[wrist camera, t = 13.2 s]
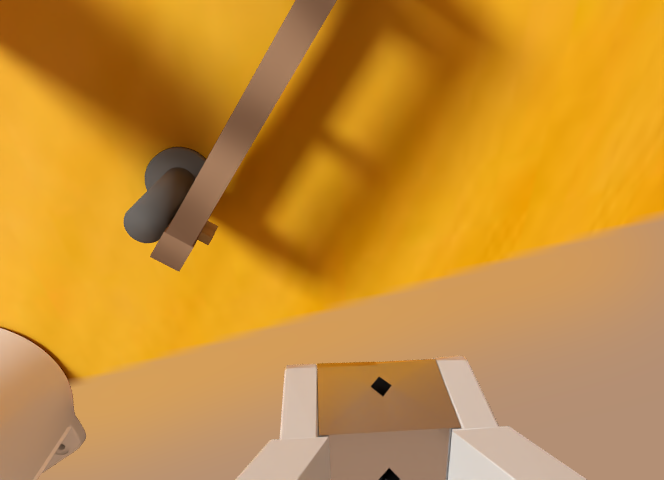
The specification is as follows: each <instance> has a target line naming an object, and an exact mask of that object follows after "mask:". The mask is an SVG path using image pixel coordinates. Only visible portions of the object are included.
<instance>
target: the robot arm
mask: <svg viewBox="0 0 664 480" xmlns="http://www.w3.org/2000/svg"><path fill="white" fill-rule="evenodd" d="M280 430H281V431H280V439H277V440H270V441H269V442H268V443H267V444H266V445H265V446H264V448H263V449H262V450H261V451H260V452H259V453H258V454H257V455H256V457H255V458H254V459H253V460H252V461H251V462H250V463H249V464H248V466H247V467H246V468H245V469H244V470H243V471H242V472H241V474H240V475H239V476H238V477H237V478H236V479H235V480H587V479H585V478H584V477H582V476H581V475H579V474H578V473H576V472H575V471H574V470H572V469H571V468H569V467H568V466H566V465H565V464H563V463H562V462H560V461H559V460H557V459H556V458H555V457H553V456H551V455H550V454H549V453H547V452H546V451H544V450H543V449H541V448H540V447H539V446H537V445H536V444H534V443H533V442H531V441H530V440H528V439H527V438H525V437H524V436H522V435H521V434H520V433H518V432H517V431H515V430H514V429H512V428H511V427H509V426H504V427H499V425H498V423H497V421H496V418H495V416H494V414H493V412H492V410H491V408H490V406H489V404H488V402H487V400H486V398H485V396H484V394H483V392H482V390H481V387H480V385H479V383H478V381H477V379H476V377H475V375H474V373H473V371H472V369H471V367H470V365H469V363H468V360H467V359H466V358H465V357H464V356H451V357H438V358H433V359H421V360H404V361H387V362H353V363H322V364H317V365H316V364H302V365H287V367H286V369H285V376H284V389H283V403H282V416H281V429H280ZM85 439H86V434H85V431H84V429H83V427H82V425H81V424H80V422H79V420H78V419H77V417H76V416H75V413H74V406H73V395H72V390H71V387H70V384H69V382H68V379H67V377H66V376H65V374H64V372H63V371H62V369H61V368H60V367H59V365H58V364H57V363H56V362H55V361H54V360H53V359H52V358H51V357H50V356H49V355H48V354H47V353H46V352H45V351H44V350H42V349H41V348H40V347H38V346H37V345H35V344H34V343H32V342H31V341H29V340H27V339H25V338H24V337H22V336H20V335H17V334H15V333H13V332H10V331H7V330H5V329H1V328H0V480H37V479H38V478H39V476H40V475H41V473H43V472H44V471H46V470H47V469H49V468H50V467H52V466H53V465H55V464H56V463H58V462H59V461H61V460H62V459H64V458H65V457H67V456H68V455H70V454H71V453H73V452H74V451H76V450H77V449H78V448H79V447H80V446H81V445H82V443H83V442H84V440H85Z"/></svg>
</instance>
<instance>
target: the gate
mask: <svg viewBox="0 0 664 480" xmlns="http://www.w3.org/2000/svg"><path fill="white" fill-rule="evenodd" d="M336 1H337V0H296V1H295V2H294V4H293V6H292V8H291V10H290V11H289V13H288V15H287V17H286V18H285V20H284V22H283V24H282V26H281V27H280V29H279V31H278V33H277V35H276V36H275V38H274V40H273V42H272V43H271V45H270V47H269V49H268V51H267V52H266V54H265V56H264V58H263V60H262V61H261V63H260V65H259V67H258V68H257V70H256V72H255V74H254V76H253V77H252V79H251V81H250V83H249V85H248V86H247V88H246V90H245V92H244V93H243V95H242V97H241V99H240V101H239V102H238V104H237V106H236V108H235V110H234V111H233V113H232V115H231V117H230V118H229V120H228V122H227V124H226V126H225V127H224V129H223V131H222V133H221V135H220V136H219V138H218V140H217V142H216V143H215V145H214V147H213V149H212V151H211V152H210V154H209V156H208V158H207V160H206V161H205V163H204V165H203V167H202V168H201V170H200V172H199V174H198V176H197V177H196V179H195V181H194V183H193V184H192V186H191V188H190V190H189V192H188V193H187V195H186V197H185V199H184V201H183V202H182V204H181V206H180V208H179V209H178V211H177V213H176V215H175V217H174V218H173V220H172V221H171V222H170V224H169V225H168V227H167V228H166V229H165V231H164V232H163V234H162V236H161V238H160V240H159V241H158V243H157V245H156V247H155V249H154V250H153V252H152V254H151V256H150V257H152V258H154V259H155V260H157V261H159V262H161V263H163V264H165V265H167V266H169V267H171V268H173V269H175V270H177V271H180V269H181V267H182V266H183V264H184V262H185V261H186V259H187V257H188V256H189V254H190V252H191V251H192V249H193V247H194V245H195V243H196V241H197V240H199V241H201V242H203V243H205V244H207V245H209V243H210V241H211V240H212V238H213V236H214V234H215V231H216V229H217V227H218V226H217V225H215V224H213V223H211V222H209V221H208V219H209V217H210V215H211V213H212V211H213V210H214V208H215V206H216V204H217V203H218V201H219V199H220V198H221V196H222V194H223V193H224V191H225V189H226V188H227V186H228V184H229V182H230V181H231V179H232V177H233V176H234V174H235V172H236V171H237V169H238V167H239V165H240V164H241V162H242V160H243V159H244V157H245V155H246V154H247V152H248V150H249V148H250V147H251V145H252V143H253V142H254V140H255V138H256V137H257V135H258V133H259V131H260V130H261V128H262V126H263V125H264V123H265V121H266V120H267V118H268V116H269V114H270V113H271V111H272V109H273V108H274V106H275V104H276V103H277V101H278V99H279V98H280V96H281V94H282V92H283V91H284V89H285V87H286V86H287V84H288V82H289V81H290V79H291V77H292V75H293V74H294V72H295V70H296V69H297V67H298V65H299V64H300V62H301V60H302V58H303V57H304V55H305V53H306V52H307V50H308V48H309V47H310V45H311V43H312V41H313V40H314V38H315V36H316V35H317V33H318V31H319V30H320V28H321V26H322V25H323V23H324V21H325V19H326V18H327V16H328V14H329V13H330V11H331V9H332V8H333V6H334V4H335V2H336Z"/></svg>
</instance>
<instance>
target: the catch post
mask: <svg viewBox="0 0 664 480" xmlns="http://www.w3.org/2000/svg"><path fill="white" fill-rule="evenodd" d="M205 161H206V159H205V158H204V157H203V156H202V155H201V154H199V153H198V152H196V151H194V150H191V149H188V148H184V147H172V148H168V149H166V150H163V151H162V152H160V153H159V154H158V155H156V156H155V157H154V158H153V159H152V160H151V161H150V163H149V164H148V166H147V169H146V172H145V185H146V189H147V192H146V193H145V194H144V195H143V196H142V197H141V198H140V199H139V200H138V201H137V202H136V203H135V204H134V205H133V206H132V207H131V208H130V209H129V210H128V211H127V212H126V214H125V217H124V227H125V229H126V231H127V233H128V234H129V235H130V236H131V237H132V238H133V239H135V240H137V241H139V242H142V243H153V242H156V241H158V240H159V239H160V238H161V236H162V234H163V232H164V231H165V229H166V228H167V227H168V225H169V224H170V222H171V221H172V220H173V218H174V217H175V215H176V213H177V211H178V209H179V208H180V206H181V204H182V202H183V201H184V199H185V197H186V195H187V193H188V192H189V190H190V188H191V186H192V184H193V183H194V181H195V179H196V177H197V176H198V174H199V172H200V170H201V168H202V167H203V165H204V163H205Z"/></svg>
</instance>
